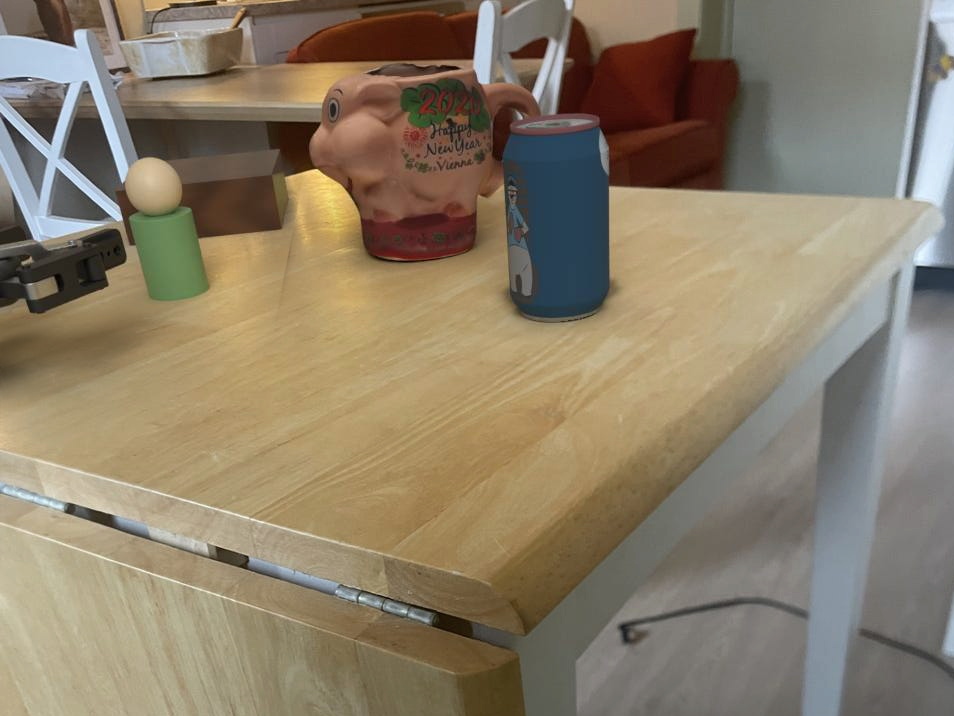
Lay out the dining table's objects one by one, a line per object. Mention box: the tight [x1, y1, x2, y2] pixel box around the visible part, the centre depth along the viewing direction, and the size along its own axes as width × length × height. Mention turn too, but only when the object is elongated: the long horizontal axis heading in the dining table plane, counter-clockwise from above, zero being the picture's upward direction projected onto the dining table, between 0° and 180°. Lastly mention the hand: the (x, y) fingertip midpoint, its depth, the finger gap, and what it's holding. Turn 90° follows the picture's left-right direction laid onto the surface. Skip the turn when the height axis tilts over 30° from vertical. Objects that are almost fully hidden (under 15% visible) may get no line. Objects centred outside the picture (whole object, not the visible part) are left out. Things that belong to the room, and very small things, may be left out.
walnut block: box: [114, 148, 289, 247], centre depth 98 cm, size 14×14×6 cm
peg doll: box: [124, 156, 210, 302], centre depth 76 cm, size 5×5×11 cm
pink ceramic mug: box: [308, 61, 542, 261], centre depth 85 cm, size 20×12×14 cm, turn 113°
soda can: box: [502, 113, 611, 323], centre depth 68 cm, size 7×7×12 cm
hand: (70, 242), depth 68 cm, fingers open, 8 cm apart
